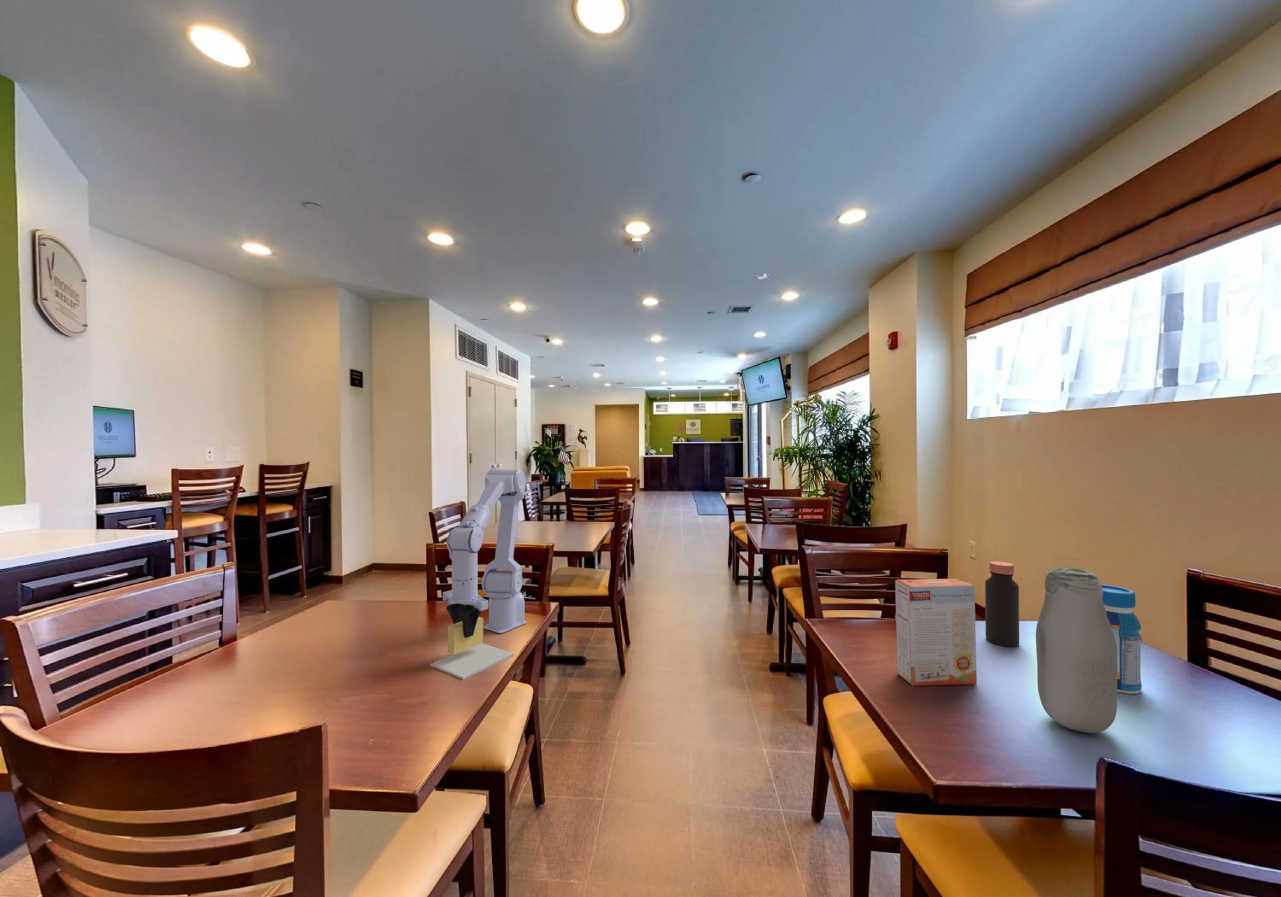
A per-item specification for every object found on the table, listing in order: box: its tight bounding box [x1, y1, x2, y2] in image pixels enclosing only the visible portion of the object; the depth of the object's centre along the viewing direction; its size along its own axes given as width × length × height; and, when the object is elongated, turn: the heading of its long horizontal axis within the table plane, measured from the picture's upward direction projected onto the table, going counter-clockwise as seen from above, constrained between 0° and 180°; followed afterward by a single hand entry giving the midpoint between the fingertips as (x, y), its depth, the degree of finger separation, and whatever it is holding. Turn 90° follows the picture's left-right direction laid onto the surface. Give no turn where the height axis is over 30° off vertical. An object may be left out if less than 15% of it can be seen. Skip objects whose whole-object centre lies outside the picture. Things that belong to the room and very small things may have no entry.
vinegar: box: [984, 561, 1020, 648], centre depth 119 cm, size 7×7×20 cm
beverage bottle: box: [1101, 584, 1143, 695], centre depth 97 cm, size 8×8×20 cm
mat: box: [430, 642, 515, 681], centre depth 109 cm, size 14×12×1 cm
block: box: [447, 616, 484, 655], centre depth 111 cm, size 8×2×6 cm, turn 147°
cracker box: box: [894, 578, 978, 687], centre depth 99 cm, size 14×6×21 cm, turn 91°
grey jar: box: [1035, 566, 1118, 734], centre depth 82 cm, size 10×10×28 cm
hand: (464, 635), depth 111 cm, fingers closed on block, 2 cm apart
